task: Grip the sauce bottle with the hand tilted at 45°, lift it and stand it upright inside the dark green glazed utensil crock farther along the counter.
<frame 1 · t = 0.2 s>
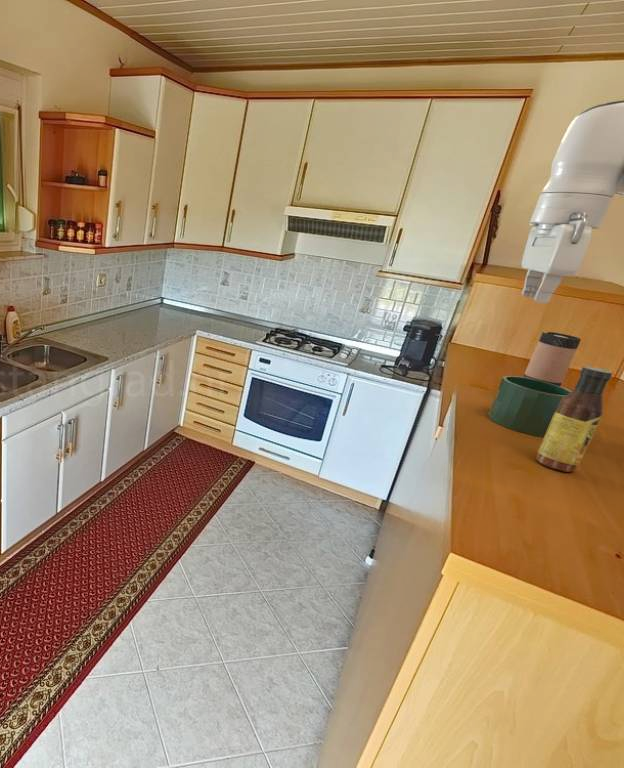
hand: (533, 299, 84), 31 cm above the worktop, tool pointing down, fingers open, 8 cm apart
crock: (521, 424, 116), on the worktop
travel mug: (529, 409, 129), on the worktop
sauce bottle: (553, 466, 95), on the worktop
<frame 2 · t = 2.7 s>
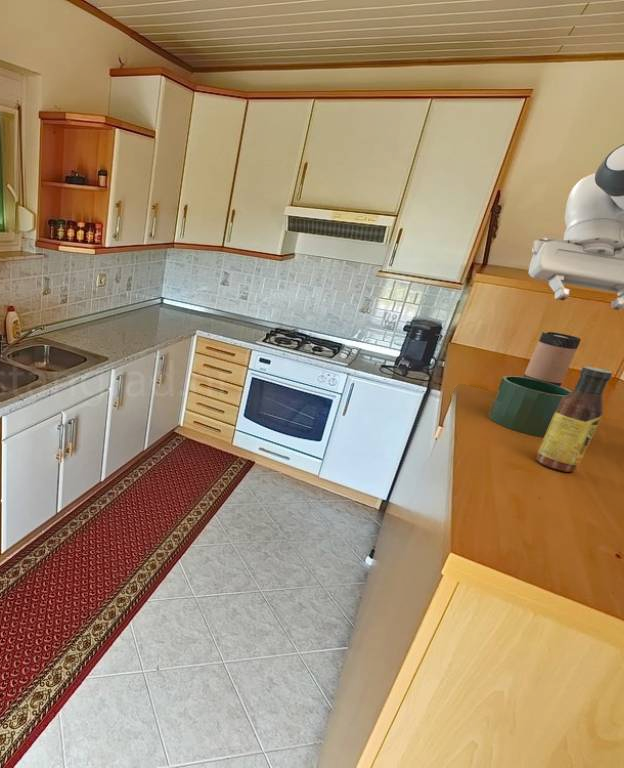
hand: (589, 303, 95), 30 cm above the worktop, tool tilted 40°, fingers open, 8 cm apart
nothing on the worktop moved.
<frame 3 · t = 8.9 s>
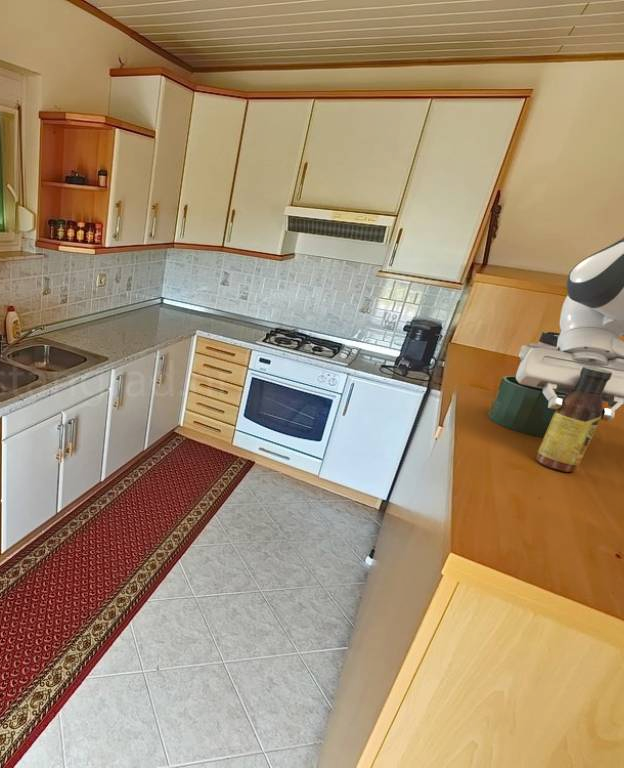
hand: (580, 413, 91), 11 cm above the worktop, tool tilted 45°, fingers closed on sauce bottle, 6 cm apart
sauce bottle: (553, 466, 95), on the worktop, touching gripper
everything else where it was.
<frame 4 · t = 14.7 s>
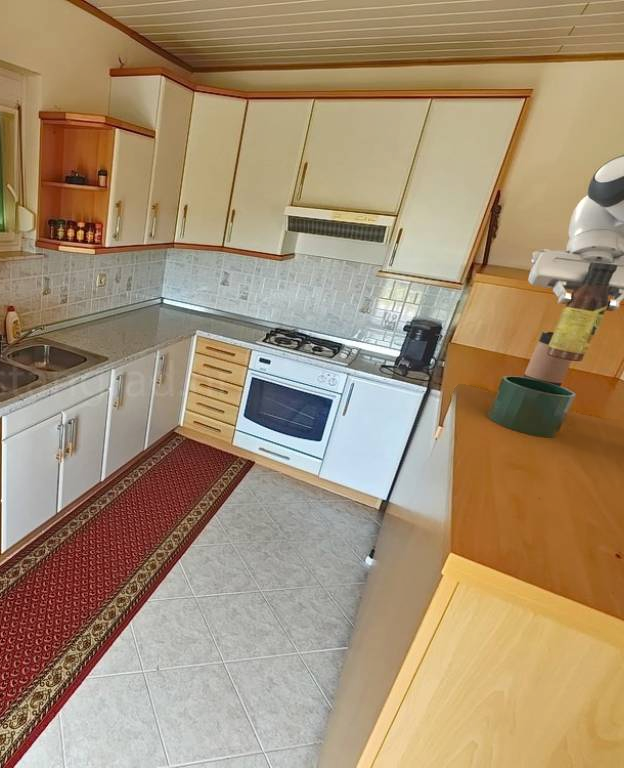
hand: (588, 305, 99), 30 cm above the worktop, tool tilted 45°, fingers closed on sauce bottle, 6 cm apart
sauce bottle: (562, 358, 104), point 18 cm above the worktop, touching gripper
everything else where it was.
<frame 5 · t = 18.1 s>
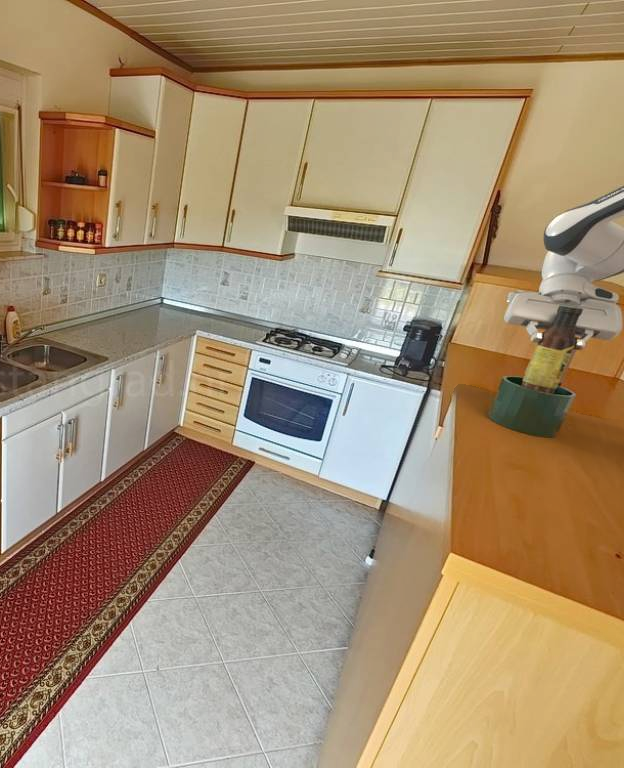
hand: (557, 344, 108), 20 cm above the worktop, tool tilted 45°, fingers closed on sauce bottle, 6 cm apart
sauce bottle: (535, 392, 113), point 8 cm above the worktop, touching gripper
everything else where it was.
when the fingers open (12 cm above the worktop, at t = 20.8 s): sauce bottle stays where it is, resting on crock.
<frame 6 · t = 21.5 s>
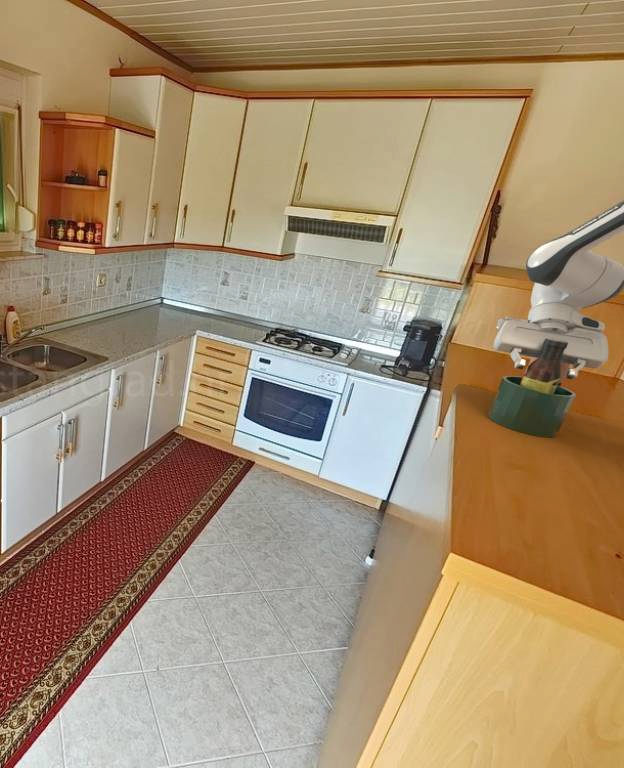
hand: (544, 372, 111), 13 cm above the worktop, tool tilted 45°, fingers open, 8 cm apart
sauce bottle: (522, 421, 116), point 1 cm above the worktop, touching crock
everything else where it was.
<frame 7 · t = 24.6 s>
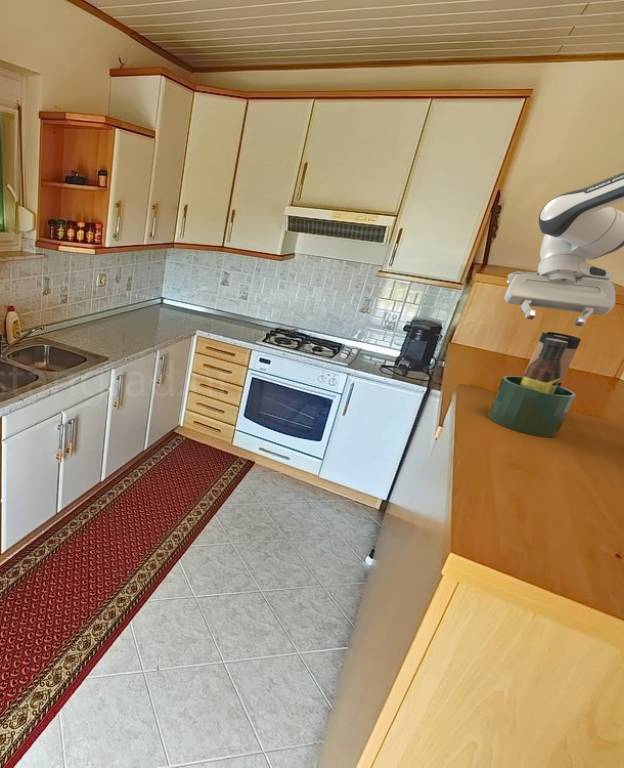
hand: (554, 321, 116), 24 cm above the worktop, tool tilted 45°, fingers open, 8 cm apart
nothing on the worktop moved.
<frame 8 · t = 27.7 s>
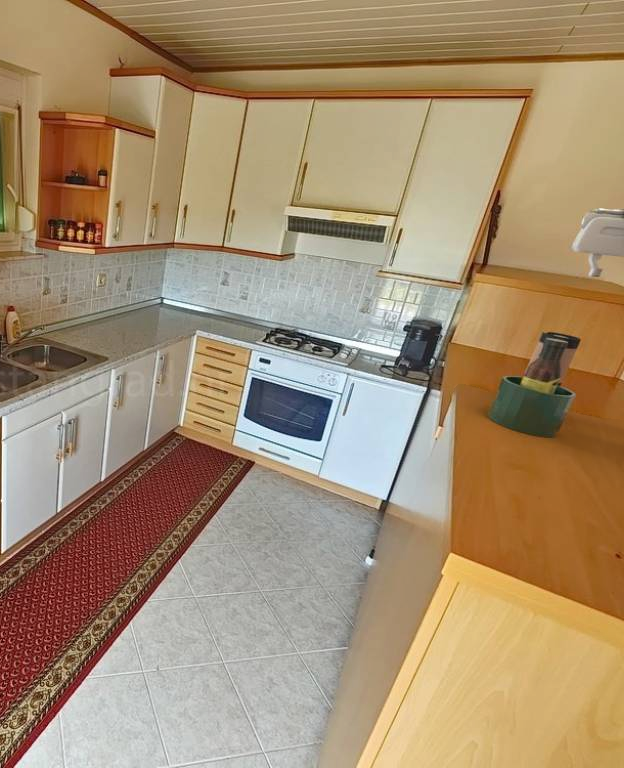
hand: (622, 280, 104), 35 cm above the worktop, tool pointing down, fingers open, 8 cm apart
nothing on the worktop moved.
at the end: sauce bottle 0.0 cm off-centre in the crock, point 0.8 cm above the crock's base; sauce bottle tilted 0°; the gripper is holding nothing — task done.
